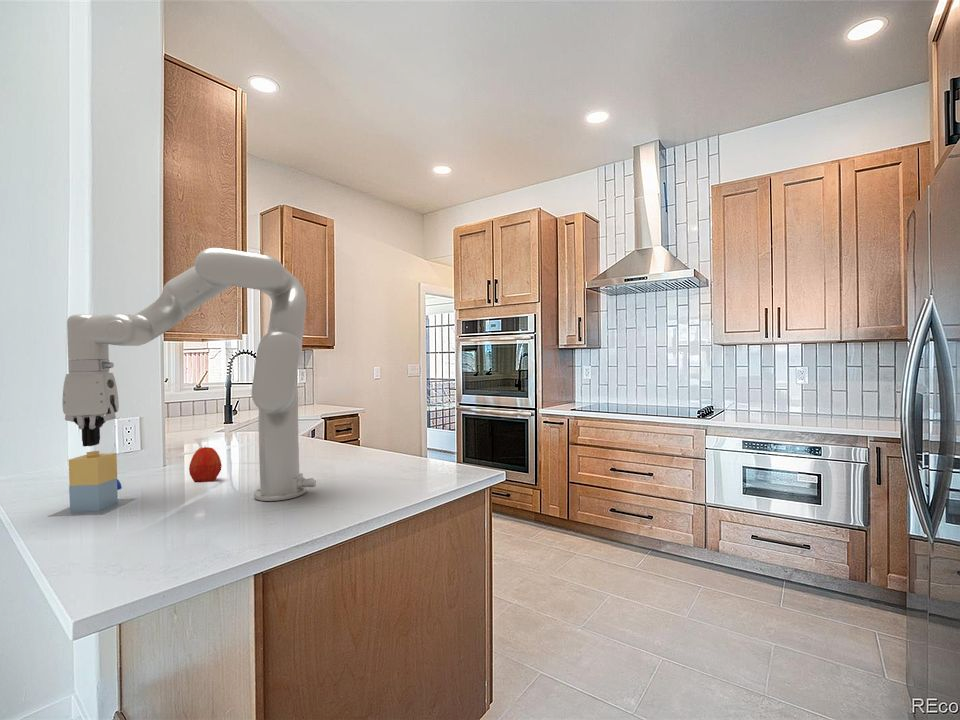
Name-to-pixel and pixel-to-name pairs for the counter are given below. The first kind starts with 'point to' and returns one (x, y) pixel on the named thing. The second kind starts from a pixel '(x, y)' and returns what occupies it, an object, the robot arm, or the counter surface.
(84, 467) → the ochre brick
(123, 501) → the baseplate
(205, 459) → the apple
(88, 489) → the blue brick
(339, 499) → the counter surface
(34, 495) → the counter surface
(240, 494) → the counter surface
